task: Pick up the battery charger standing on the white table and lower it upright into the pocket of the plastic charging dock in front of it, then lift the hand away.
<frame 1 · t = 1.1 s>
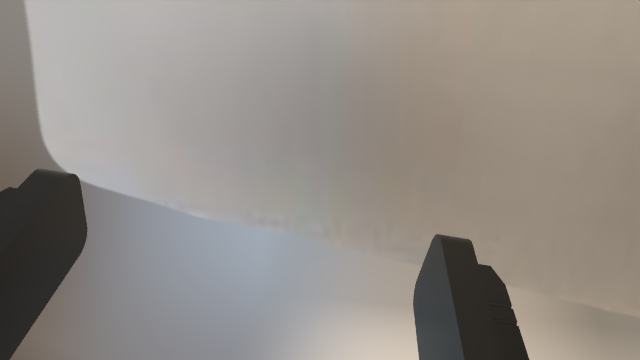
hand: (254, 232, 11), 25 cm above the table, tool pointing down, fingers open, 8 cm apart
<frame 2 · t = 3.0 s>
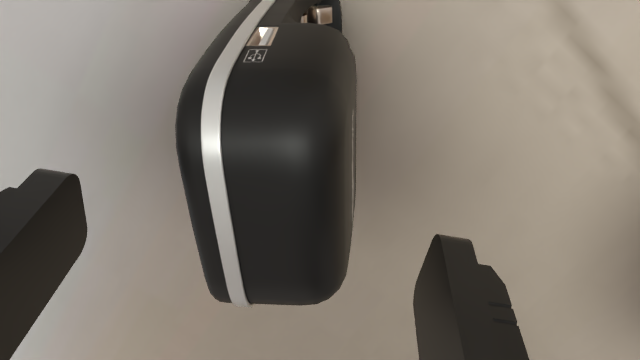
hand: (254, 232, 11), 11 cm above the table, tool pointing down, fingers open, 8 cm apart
battery charger: (314, 57, 21), on the table
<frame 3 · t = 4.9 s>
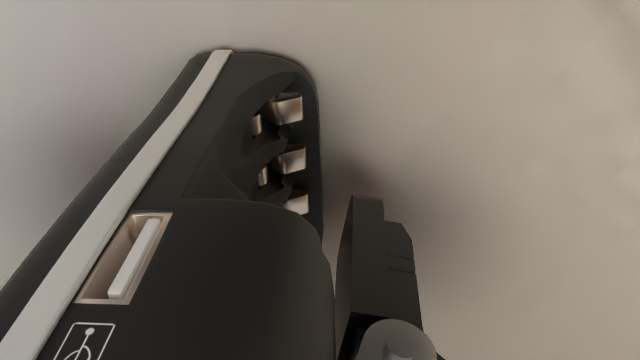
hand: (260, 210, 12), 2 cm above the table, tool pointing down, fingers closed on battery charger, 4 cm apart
battery charger: (280, 156, 14), on the table, touching gripper
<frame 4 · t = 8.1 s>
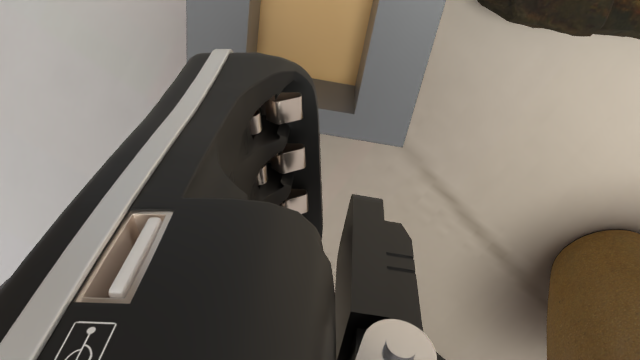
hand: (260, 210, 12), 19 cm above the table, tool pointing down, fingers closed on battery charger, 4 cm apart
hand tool: (634, 6, 27), on the table
plant pot: (597, 265, 37), on the table
battery charger: (279, 156, 14), point 16 cm above the table, touching gripper
when the fingers open (6 cm above the table, at t = 11.2 s): battery charger drops 2 cm, resting on dock.
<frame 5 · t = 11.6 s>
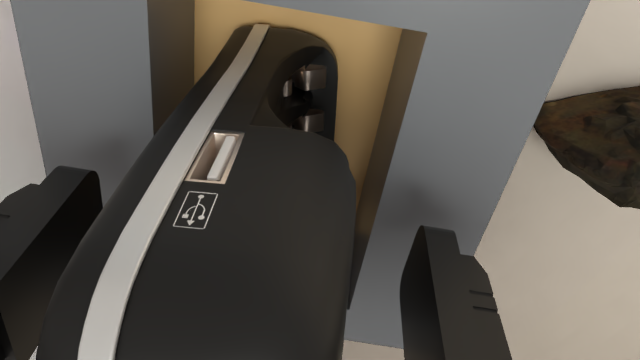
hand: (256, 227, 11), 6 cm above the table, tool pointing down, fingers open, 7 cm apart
dock: (289, 104, 17), on the table
battery charger: (298, 121, 16), point 1 cm above the table, touching dock
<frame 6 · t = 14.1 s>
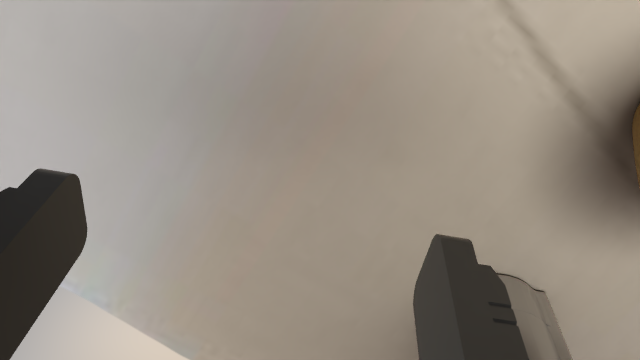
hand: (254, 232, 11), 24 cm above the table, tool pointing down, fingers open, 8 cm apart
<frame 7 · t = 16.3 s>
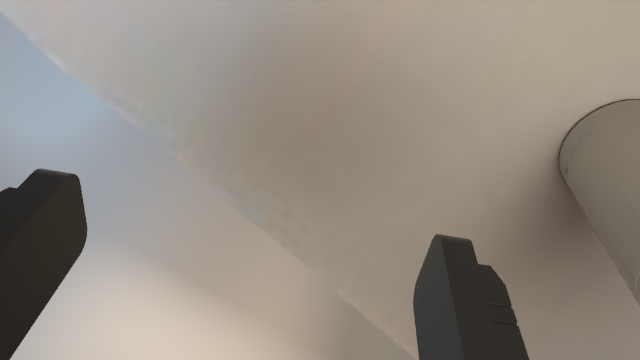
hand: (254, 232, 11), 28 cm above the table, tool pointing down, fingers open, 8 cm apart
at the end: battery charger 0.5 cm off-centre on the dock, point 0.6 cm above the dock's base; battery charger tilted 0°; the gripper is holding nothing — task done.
